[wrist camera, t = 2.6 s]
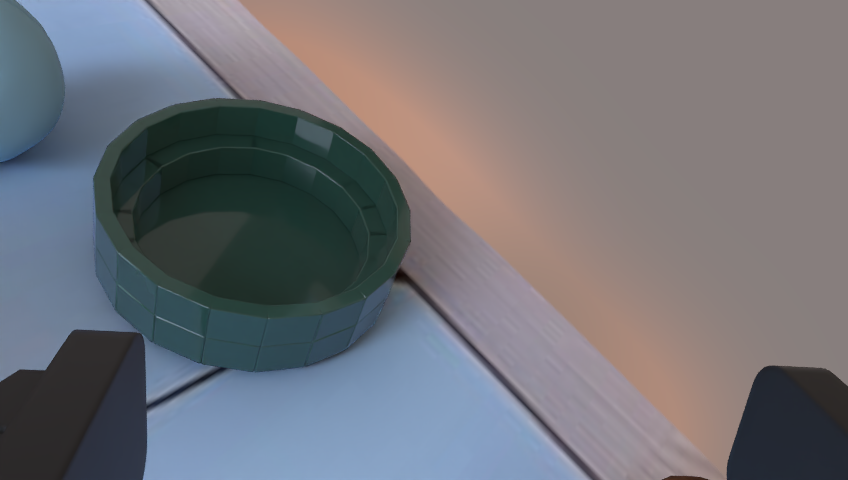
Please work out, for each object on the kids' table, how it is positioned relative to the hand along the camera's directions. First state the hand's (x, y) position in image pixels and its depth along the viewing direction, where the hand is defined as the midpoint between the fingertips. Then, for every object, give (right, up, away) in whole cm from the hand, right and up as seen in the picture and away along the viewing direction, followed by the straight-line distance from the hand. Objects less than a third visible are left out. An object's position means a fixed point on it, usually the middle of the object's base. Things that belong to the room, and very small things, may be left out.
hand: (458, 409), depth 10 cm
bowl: (-9, +1, +28) cm, 30 cm away
